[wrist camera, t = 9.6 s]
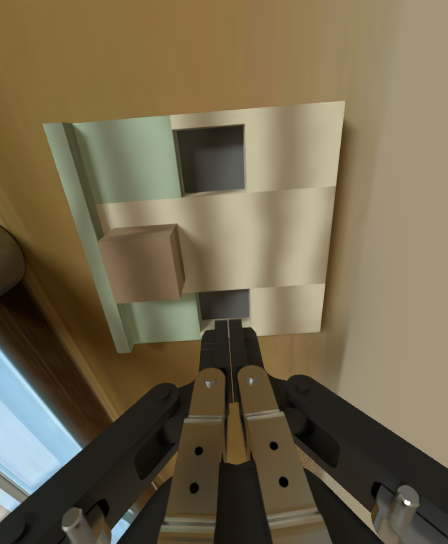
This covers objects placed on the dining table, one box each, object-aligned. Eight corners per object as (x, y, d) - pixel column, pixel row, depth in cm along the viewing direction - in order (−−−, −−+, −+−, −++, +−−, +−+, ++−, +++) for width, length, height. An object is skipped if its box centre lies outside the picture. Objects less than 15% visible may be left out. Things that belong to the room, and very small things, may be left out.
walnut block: (176, 223, 25) (169, 236, 21) (185, 279, 28) (180, 299, 24) (114, 228, 25) (96, 242, 22) (129, 283, 28) (115, 303, 24)
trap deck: (331, 105, 24) (353, 97, 19) (311, 316, 34) (324, 340, 30) (72, 127, 24) (42, 123, 20) (130, 328, 34) (117, 353, 30)
